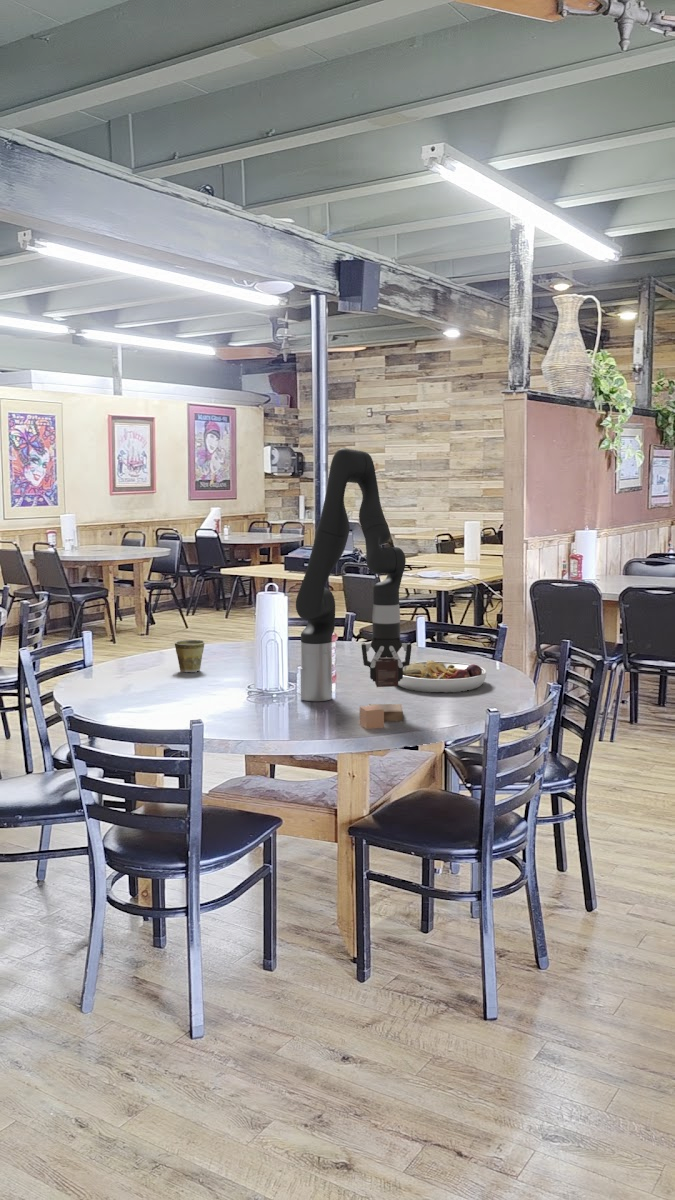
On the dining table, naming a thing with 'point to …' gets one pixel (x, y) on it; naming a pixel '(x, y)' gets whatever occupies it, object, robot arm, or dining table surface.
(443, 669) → the bowl
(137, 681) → the dining table surface
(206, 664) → the dining table surface
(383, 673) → the box
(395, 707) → the plinth
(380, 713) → the terracotta block
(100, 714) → the dining table surface
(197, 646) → the ceramic cup
